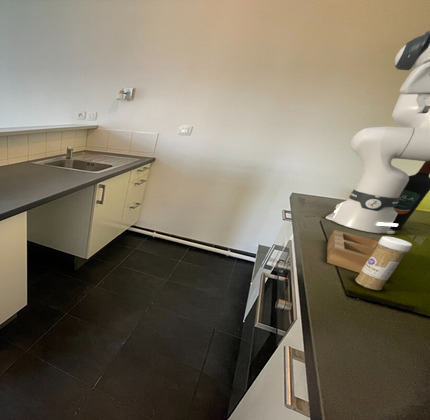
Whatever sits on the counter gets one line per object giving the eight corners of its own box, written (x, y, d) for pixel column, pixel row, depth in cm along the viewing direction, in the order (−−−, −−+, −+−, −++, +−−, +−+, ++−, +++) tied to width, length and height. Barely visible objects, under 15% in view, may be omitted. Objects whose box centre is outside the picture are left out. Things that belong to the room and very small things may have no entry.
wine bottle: (406, 230, 99) (462, 157, 88) (385, 227, 100) (437, 154, 89) (387, 223, 106) (436, 154, 95) (367, 220, 107) (413, 151, 96)
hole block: (327, 242, 86) (334, 229, 84) (376, 255, 79) (384, 242, 77) (326, 262, 73) (334, 248, 71) (384, 280, 66) (395, 265, 64)
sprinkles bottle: (349, 279, 66) (376, 234, 61) (366, 280, 66) (395, 236, 60) (368, 290, 61) (399, 244, 56) (387, 291, 61) (419, 245, 56)
